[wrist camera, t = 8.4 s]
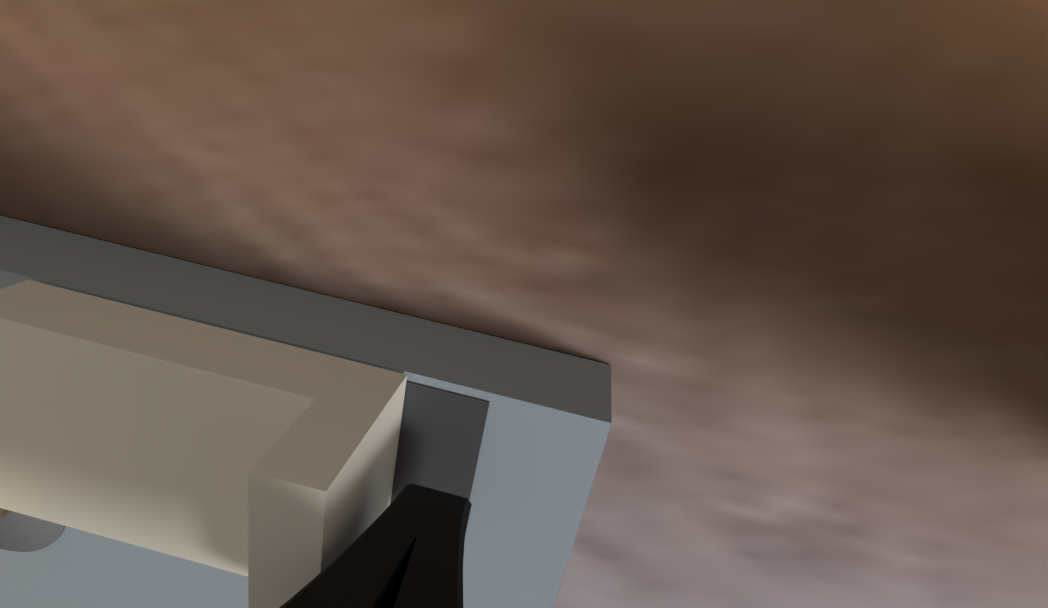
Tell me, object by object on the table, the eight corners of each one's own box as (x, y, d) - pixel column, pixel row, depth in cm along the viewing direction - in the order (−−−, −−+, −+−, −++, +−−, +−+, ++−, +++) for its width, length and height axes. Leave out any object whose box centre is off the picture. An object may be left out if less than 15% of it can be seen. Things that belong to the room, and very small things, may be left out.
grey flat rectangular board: (501, 732, 19) (485, 824, 17) (2, 589, 20) (-79, 657, 18) (611, 365, 13) (611, 425, 11) (-98, 191, 14) (-238, 212, 12)
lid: (384, 552, 13) (311, 703, 10) (60, 464, 14) (-110, 582, 10) (407, 374, 11) (325, 491, 8) (28, 279, 12) (-194, 353, 8)
